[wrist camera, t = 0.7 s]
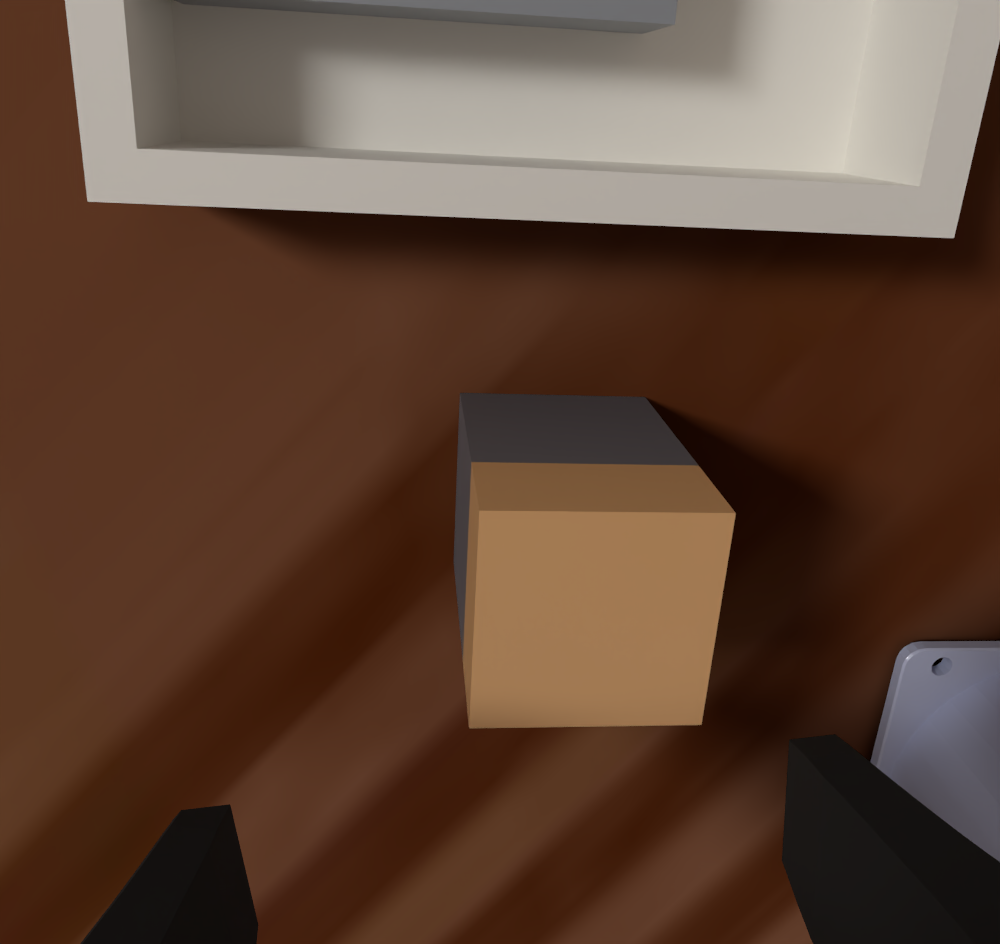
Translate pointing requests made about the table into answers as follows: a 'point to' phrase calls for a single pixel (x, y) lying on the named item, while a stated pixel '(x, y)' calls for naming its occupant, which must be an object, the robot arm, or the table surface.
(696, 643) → the block
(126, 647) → the table surface
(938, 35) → the walled box
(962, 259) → the table surface
